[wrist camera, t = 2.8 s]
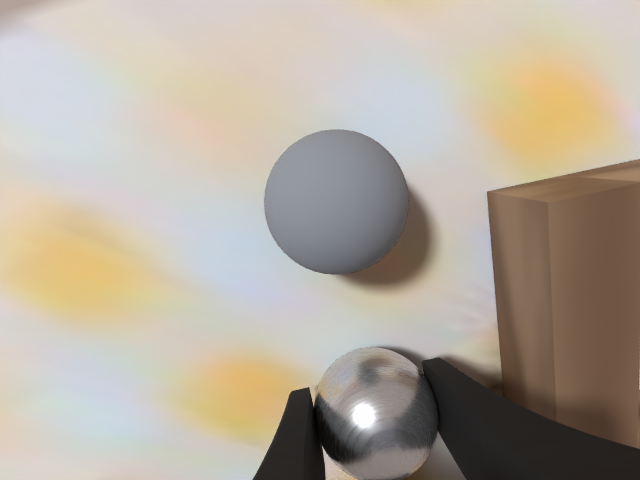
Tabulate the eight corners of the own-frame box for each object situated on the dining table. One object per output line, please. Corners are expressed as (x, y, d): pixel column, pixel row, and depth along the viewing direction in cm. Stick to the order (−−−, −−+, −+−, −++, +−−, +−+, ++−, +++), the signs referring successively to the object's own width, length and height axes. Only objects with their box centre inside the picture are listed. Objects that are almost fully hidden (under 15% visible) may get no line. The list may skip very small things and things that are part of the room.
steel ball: (321, 429, 14) (334, 532, 10) (300, 339, 13) (306, 416, 9) (419, 406, 14) (468, 499, 10) (405, 316, 13) (454, 382, 9)
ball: (282, 263, 12) (280, 312, 9) (255, 147, 11) (238, 142, 8) (393, 239, 13) (441, 277, 9) (376, 122, 12) (421, 106, 8)
